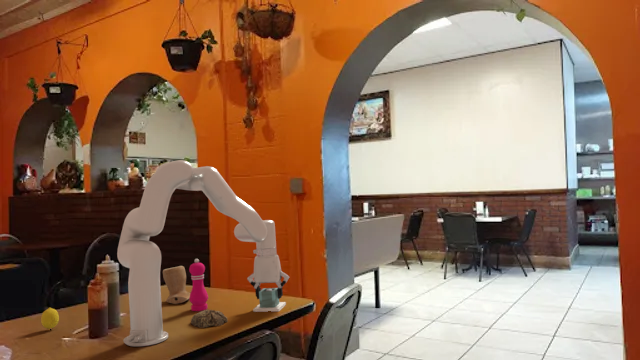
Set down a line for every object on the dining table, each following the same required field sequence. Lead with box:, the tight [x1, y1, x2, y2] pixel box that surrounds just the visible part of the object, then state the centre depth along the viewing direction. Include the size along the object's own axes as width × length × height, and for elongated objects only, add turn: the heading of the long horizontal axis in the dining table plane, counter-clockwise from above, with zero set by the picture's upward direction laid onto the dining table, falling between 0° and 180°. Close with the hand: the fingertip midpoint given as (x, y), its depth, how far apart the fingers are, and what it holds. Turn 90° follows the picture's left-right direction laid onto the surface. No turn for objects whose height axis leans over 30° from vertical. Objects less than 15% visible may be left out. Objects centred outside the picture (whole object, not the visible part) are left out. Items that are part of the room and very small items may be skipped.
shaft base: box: [252, 289, 287, 313], centre depth 181 cm, size 10×10×7 cm
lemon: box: [40, 307, 60, 330], centre depth 169 cm, size 6×6×8 cm
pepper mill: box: [188, 258, 209, 312], centre depth 187 cm, size 7×7×20 cm
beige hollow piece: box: [162, 265, 191, 305], centre depth 204 cm, size 15×12×15 cm
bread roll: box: [190, 308, 229, 329], centre depth 166 cm, size 13×12×5 cm
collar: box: [258, 287, 280, 308], centre depth 181 cm, size 6×6×6 cm
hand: (269, 297), depth 181 cm, fingers open, 7 cm apart
